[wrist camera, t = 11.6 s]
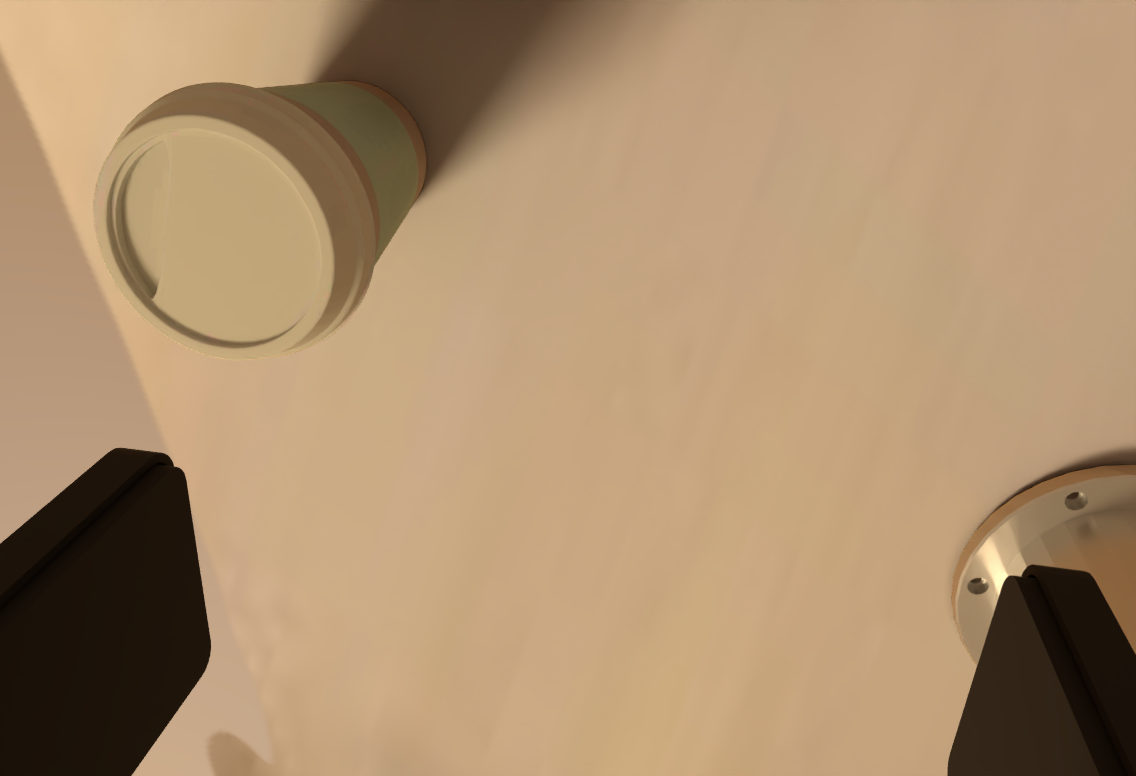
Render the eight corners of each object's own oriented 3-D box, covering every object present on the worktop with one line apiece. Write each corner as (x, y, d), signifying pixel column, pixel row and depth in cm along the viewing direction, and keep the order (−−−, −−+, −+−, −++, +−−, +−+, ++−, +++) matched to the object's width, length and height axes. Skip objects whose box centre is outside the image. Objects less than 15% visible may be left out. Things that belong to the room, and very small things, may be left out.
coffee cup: (350, -7, 36) (187, 24, 25) (504, 169, 38) (413, 266, 27) (215, 141, 39) (21, 223, 29) (362, 295, 41) (232, 426, 31)
